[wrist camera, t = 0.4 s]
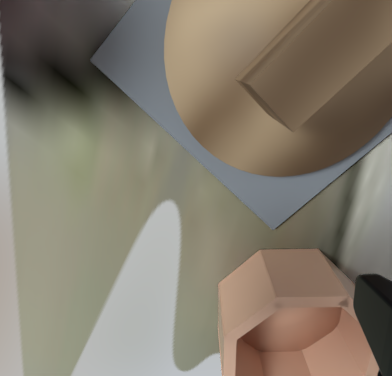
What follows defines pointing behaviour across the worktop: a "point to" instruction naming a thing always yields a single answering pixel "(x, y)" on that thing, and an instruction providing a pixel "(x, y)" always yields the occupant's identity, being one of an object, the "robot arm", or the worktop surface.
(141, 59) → the mat
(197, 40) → the lid
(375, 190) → the worktop surface
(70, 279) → the worktop surface
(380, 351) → the robot arm
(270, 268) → the bowl
